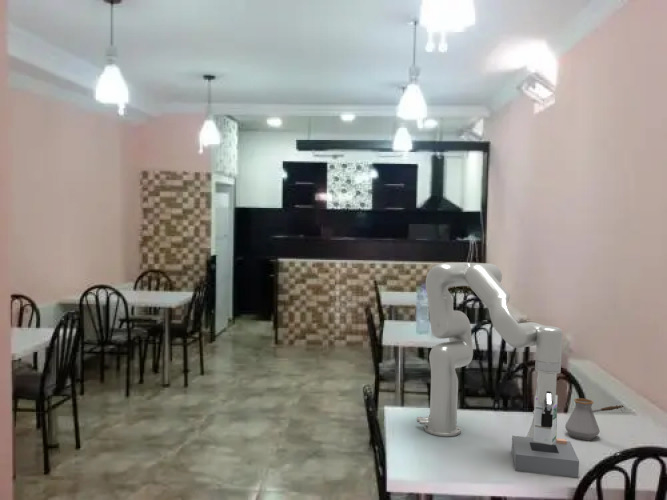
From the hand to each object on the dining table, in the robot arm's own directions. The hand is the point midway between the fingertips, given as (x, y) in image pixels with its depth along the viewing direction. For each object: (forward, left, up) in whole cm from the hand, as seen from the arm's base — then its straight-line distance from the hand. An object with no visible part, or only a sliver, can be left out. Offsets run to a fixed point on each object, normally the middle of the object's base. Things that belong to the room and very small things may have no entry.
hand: (545, 422), depth 200 cm
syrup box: (0, 0, -6) cm, 6 cm away
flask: (0, +22, -13) cm, 26 cm away
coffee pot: (+20, +29, -13) cm, 38 cm away
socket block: (0, 0, -13) cm, 13 cm away
